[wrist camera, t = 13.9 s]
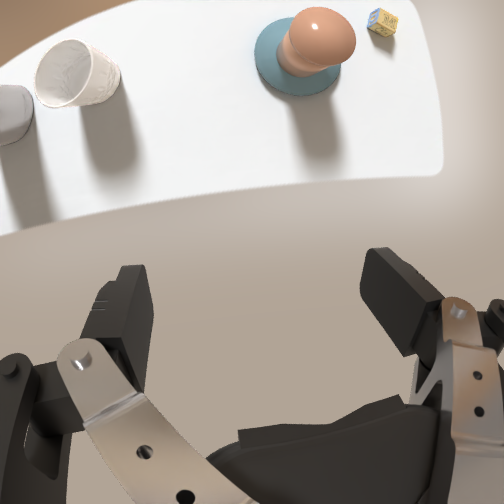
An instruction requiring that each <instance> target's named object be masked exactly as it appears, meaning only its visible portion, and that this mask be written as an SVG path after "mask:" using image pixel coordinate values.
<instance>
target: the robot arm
mask: <svg viewBox="0 0 504 504" xmlns="http://www.w3.org/2000/svg"><path fill="white" fill-rule="evenodd" d="M32 114H33V101H32V97H31V95H30V93H29V91H28V90H27V89H26V88H25V87H23V86H19V85H0V146H2V145H6V144H10V143H14V142H16V141H18V140H19V139H21V138H22V137H23V136H24V134H25V133H26V131H27V129H28V127H29V125H30V122H31V119H32ZM360 294H361V297H362V299H363V301H364V302H365V304H366V305H367V306H368V308H369V309H370V310H371V312H372V313H373V315H374V316H375V317H376V319H377V320H378V321H379V323H380V324H381V326H382V327H383V328H384V330H385V331H386V333H387V334H388V335H389V337H390V338H391V340H392V341H393V342H394V344H395V346H396V347H397V348H398V350H399V351H400V353H401V354H402V356H403V357H406V356H410V355H413V354H417V355H418V357H417V359H416V361H415V365H414V373H413V381H412V388H411V394H410V400H409V404H404V403H403V401H402V399H401V398H400V396H399V394H398V395H395V396H392V397H389V398H386V399H383V400H379V401H376V402H373V403H370V404H367V405H364V406H362V407H361V408H359V409H357V410H355V411H354V412H352V413H350V414H348V415H346V416H345V417H343V418H341V419H339V420H337V421H335V422H333V423H331V424H324V425H323V424H321V425H310V424H308V425H305V424H278V425H272V426H265V427H258V428H250V429H242V430H238V439H239V441H238V442H235V443H232V444H229V445H227V446H225V447H222V448H220V449H219V450H217V451H215V452H214V453H212V454H210V455H209V456H208V457H206V458H204V457H203V456H202V455H201V454H200V453H198V452H197V451H196V450H195V449H194V448H193V447H192V446H191V445H190V444H189V443H188V442H187V441H186V440H185V439H184V438H183V437H182V436H181V435H180V434H179V432H178V431H177V430H176V429H175V428H174V427H173V426H172V425H171V424H170V423H169V422H168V421H167V420H166V419H165V417H164V416H163V415H162V414H161V413H160V412H159V411H158V410H157V408H156V407H155V406H154V405H153V404H152V403H151V402H150V400H149V399H148V398H147V397H146V396H145V395H144V387H145V378H146V369H147V361H148V353H149V346H150V338H151V332H152V326H153V318H154V317H153V316H154V313H153V303H152V298H151V293H150V289H149V284H148V279H147V274H146V269H145V266H144V265H128V266H122V267H121V269H120V272H119V274H118V277H117V279H116V281H109V282H107V283H106V284H105V285H104V286H103V287H102V288H101V289H100V291H99V292H98V295H97V297H96V299H95V302H94V304H93V306H92V311H90V313H89V316H88V318H87V321H86V323H85V326H84V328H83V331H82V333H81V336H80V338H79V339H78V340H75V341H72V342H70V343H69V344H67V345H66V346H65V347H64V348H63V349H62V350H61V351H60V353H59V354H58V357H57V361H54V362H49V363H45V364H40V365H37V366H33V364H32V363H31V361H30V360H29V358H28V357H27V356H26V355H24V354H21V353H14V354H11V355H8V356H6V357H5V358H3V359H2V360H0V504H66V492H67V477H68V464H69V454H70V446H71V439H72V433H74V432H79V431H84V430H86V432H87V434H88V435H89V437H90V439H91V440H92V442H93V444H94V445H95V447H96V449H97V450H98V452H99V453H100V455H101V456H102V458H103V459H104V461H105V463H106V464H107V465H108V467H109V468H110V470H111V471H112V473H113V474H114V476H115V477H116V478H117V480H118V481H119V483H120V484H121V485H122V487H123V488H124V489H125V491H126V492H127V493H128V495H129V496H130V497H131V499H132V500H133V501H134V502H135V504H504V370H503V369H502V367H501V366H500V365H499V363H498V361H497V357H498V356H499V354H500V352H501V351H502V349H503V347H504V300H501V299H494V300H492V301H491V303H490V305H489V307H488V309H487V311H486V312H479V311H476V310H475V308H474V307H473V306H472V305H471V304H470V303H468V302H467V301H465V300H463V299H461V298H457V297H447V298H445V297H444V296H443V295H442V294H441V293H440V292H439V291H438V290H437V289H436V288H435V287H434V286H433V285H432V284H430V283H429V282H428V281H427V280H425V278H424V277H423V276H422V275H421V274H419V273H418V271H417V270H416V269H415V268H414V267H413V266H411V265H410V264H408V263H407V262H405V261H403V260H402V259H401V258H399V257H398V256H397V255H396V254H395V253H394V252H393V251H392V250H391V249H389V248H388V247H383V248H371V249H369V250H368V251H367V253H366V257H365V262H364V267H363V272H362V277H361V282H360ZM28 425H29V427H28ZM27 428H28V431H27ZM26 433H27V436H26ZM25 437H26V441H25ZM24 442H25V446H24Z"/></svg>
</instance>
